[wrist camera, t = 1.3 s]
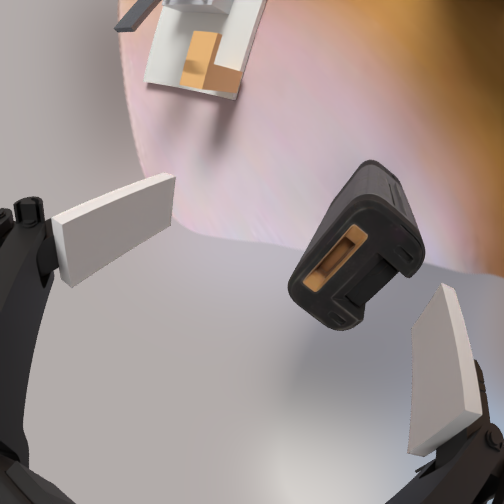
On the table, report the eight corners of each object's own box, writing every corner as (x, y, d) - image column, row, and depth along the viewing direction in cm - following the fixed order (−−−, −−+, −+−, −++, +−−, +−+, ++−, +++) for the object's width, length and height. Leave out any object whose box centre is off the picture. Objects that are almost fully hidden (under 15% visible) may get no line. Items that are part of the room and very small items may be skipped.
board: (187, -45, 26) (156, -62, 19) (283, -46, 22) (261, -73, 16) (148, 81, 38) (110, 81, 32) (235, 99, 35) (203, 97, 28)
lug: (229, 44, 30) (193, 30, 24) (250, 47, 30) (217, 32, 23) (216, 88, 34) (179, 84, 27) (236, 93, 33) (201, 89, 26)
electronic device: (360, 238, 37) (340, 341, 20) (325, 209, 37) (276, 293, 20) (406, 185, 31) (436, 255, 15) (368, 153, 32) (364, 189, 15)
